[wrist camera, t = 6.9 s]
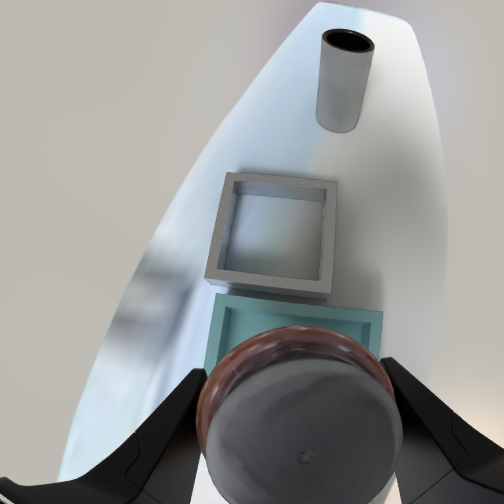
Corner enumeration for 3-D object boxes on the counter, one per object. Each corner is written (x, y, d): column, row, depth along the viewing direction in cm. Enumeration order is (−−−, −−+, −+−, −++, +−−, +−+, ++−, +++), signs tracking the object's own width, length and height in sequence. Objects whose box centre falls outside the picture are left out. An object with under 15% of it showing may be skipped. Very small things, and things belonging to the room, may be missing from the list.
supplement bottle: (299, 456, 13) (321, 585, 3) (215, 401, 15) (106, 463, 4) (361, 374, 15) (485, 393, 4) (276, 318, 16) (267, 249, 6)
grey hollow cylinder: (361, 133, 27) (382, 54, 17) (319, 133, 28) (328, 50, 18) (351, 105, 29) (365, 30, 19) (312, 104, 29) (317, 27, 19)
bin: (348, 456, 18) (357, 469, 15) (202, 439, 19) (191, 450, 16) (370, 316, 21) (382, 311, 18) (224, 300, 23) (216, 293, 20)
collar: (326, 298, 22) (331, 293, 20) (210, 284, 23) (204, 277, 21) (332, 195, 25) (336, 181, 23) (230, 185, 26) (226, 172, 24)
